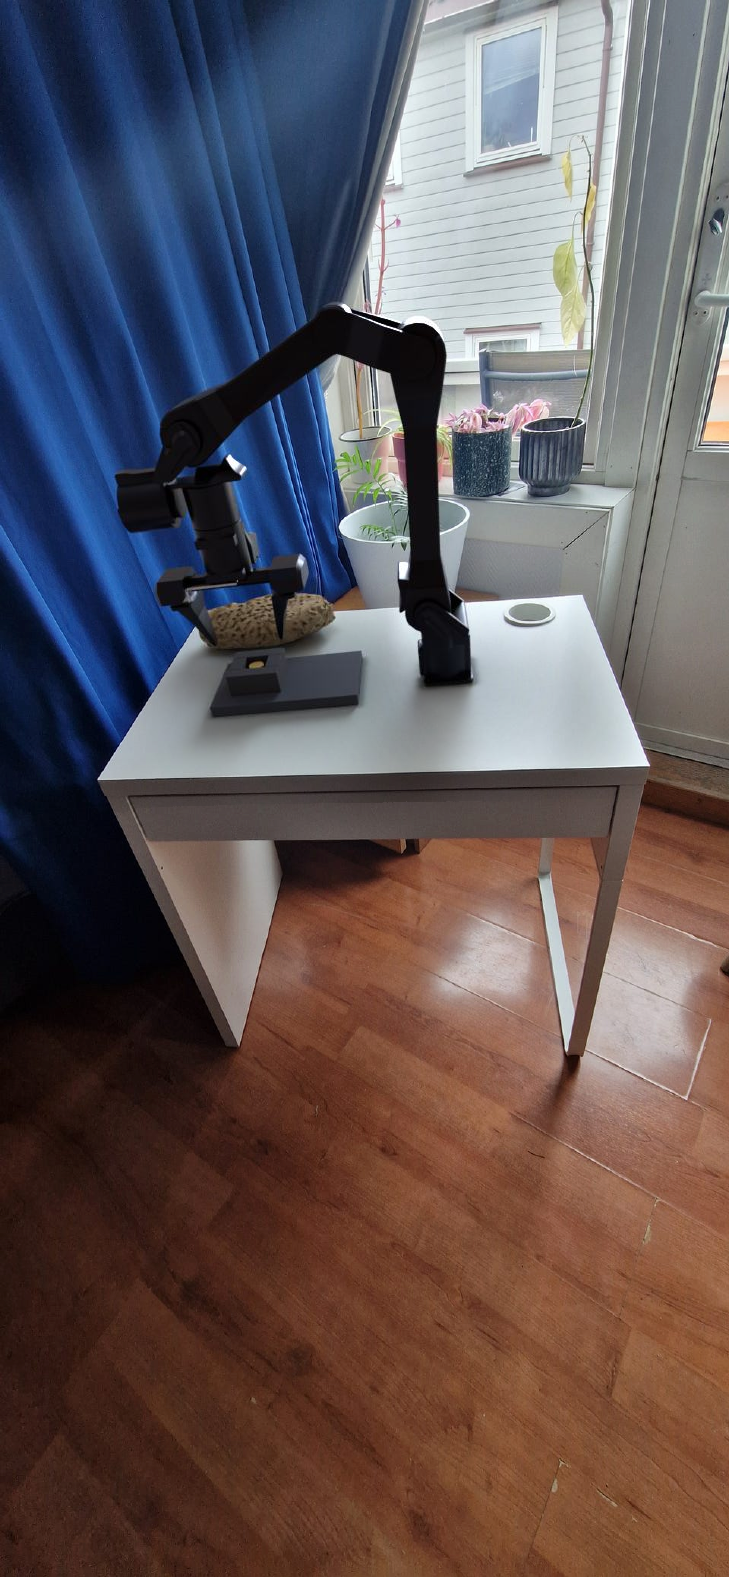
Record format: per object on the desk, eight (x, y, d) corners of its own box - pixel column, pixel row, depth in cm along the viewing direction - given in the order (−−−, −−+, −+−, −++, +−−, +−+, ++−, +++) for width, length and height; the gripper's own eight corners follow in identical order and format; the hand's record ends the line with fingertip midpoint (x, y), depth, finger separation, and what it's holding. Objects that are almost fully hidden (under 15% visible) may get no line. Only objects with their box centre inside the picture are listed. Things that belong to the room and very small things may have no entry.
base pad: (362, 659, 95) (359, 634, 92) (358, 704, 86) (354, 678, 83) (230, 672, 97) (223, 648, 95) (212, 717, 88) (204, 692, 86)
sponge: (204, 666, 103) (313, 646, 94) (185, 617, 99) (296, 592, 91) (245, 640, 113) (347, 620, 104) (229, 596, 110) (333, 571, 101)
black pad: (288, 666, 93) (283, 647, 91) (281, 692, 88) (276, 672, 86) (241, 670, 94) (235, 652, 92) (231, 696, 89) (225, 677, 87)
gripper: (301, 492, 82) (322, 608, 92) (161, 510, 85) (196, 621, 95) (289, 522, 74) (314, 645, 84) (134, 540, 76) (176, 659, 86)
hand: (248, 641), depth 87 cm, fingers open, 9 cm apart
